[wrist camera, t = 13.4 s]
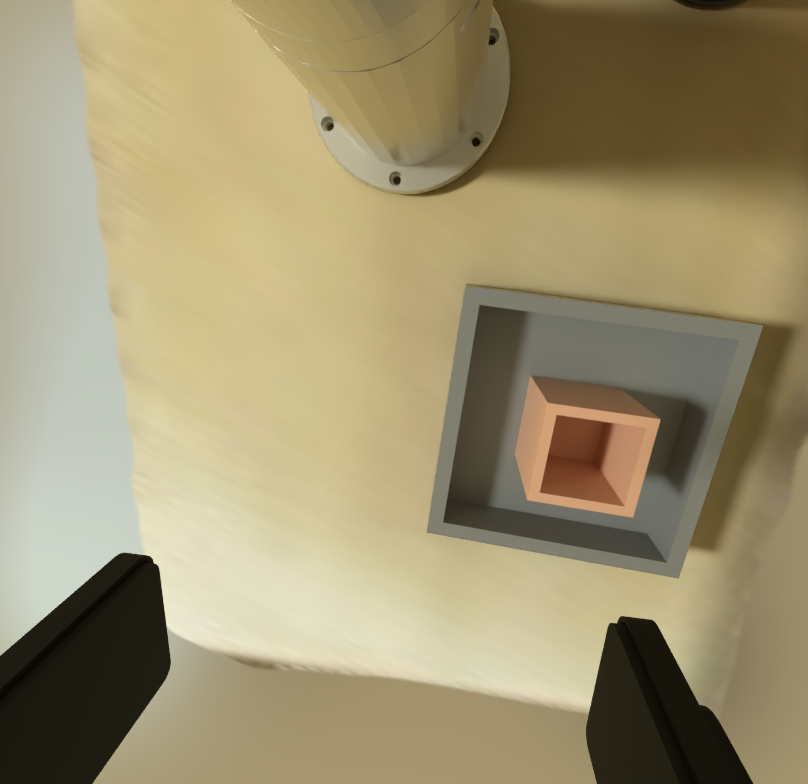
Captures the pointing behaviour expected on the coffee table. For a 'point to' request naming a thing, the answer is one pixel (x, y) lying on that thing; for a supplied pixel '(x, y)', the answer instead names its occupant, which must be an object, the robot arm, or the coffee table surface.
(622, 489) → the small crate
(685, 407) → the grey square tray
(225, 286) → the coffee table surface
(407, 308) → the coffee table surface
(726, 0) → the french press
